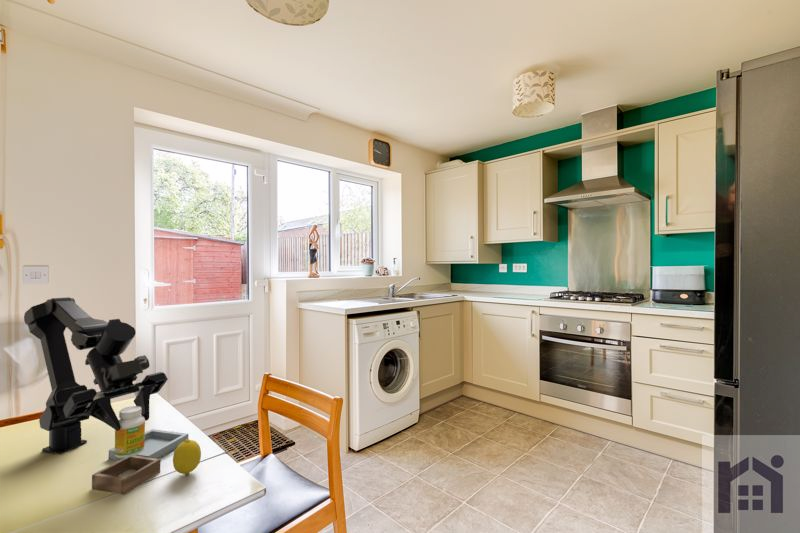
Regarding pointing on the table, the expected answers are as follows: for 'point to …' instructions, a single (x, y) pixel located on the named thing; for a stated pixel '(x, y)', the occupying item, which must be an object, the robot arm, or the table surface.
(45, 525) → the table surface
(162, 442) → the parts tray
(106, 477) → the brown wooden open box
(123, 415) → the supplement bottle
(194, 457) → the lemon
